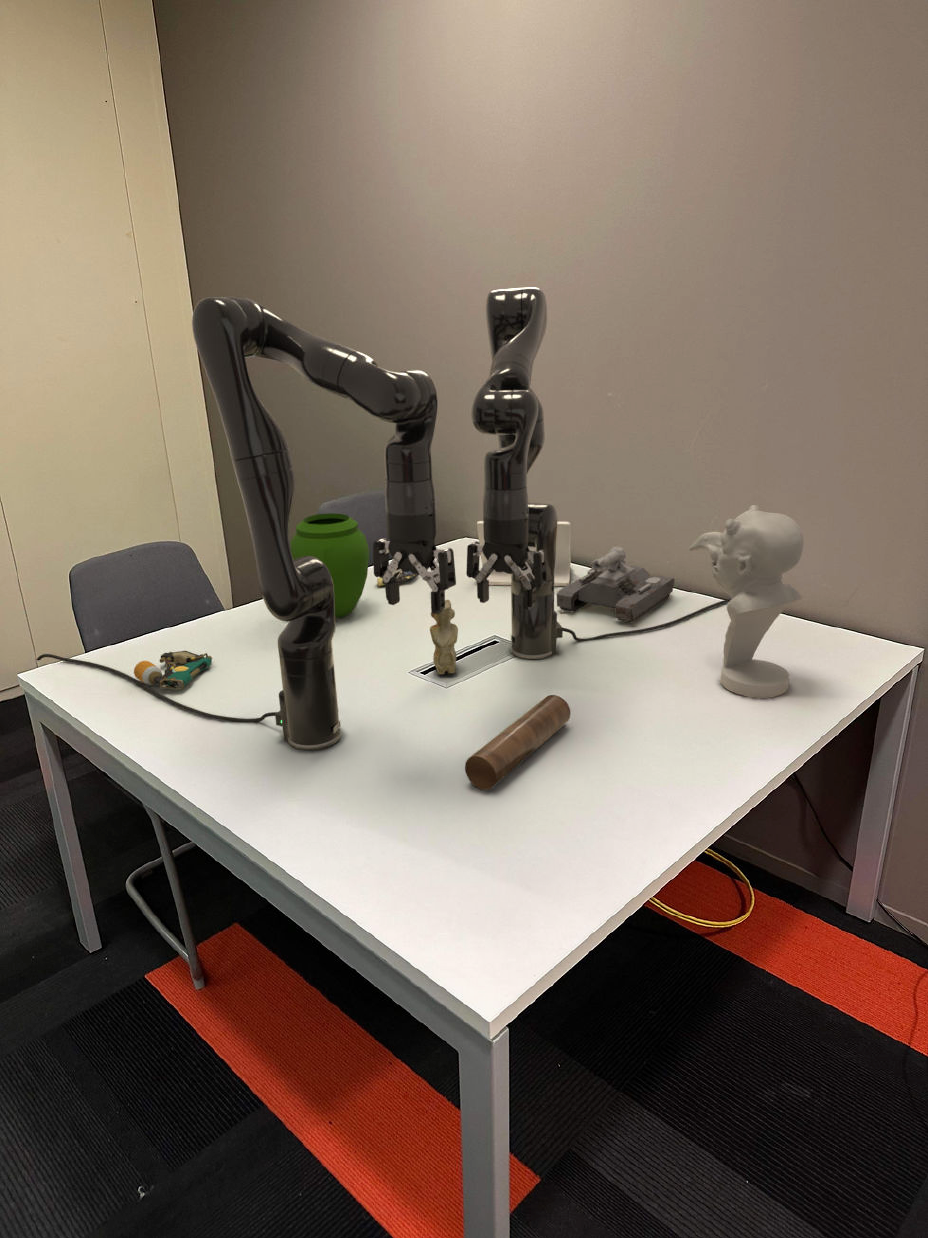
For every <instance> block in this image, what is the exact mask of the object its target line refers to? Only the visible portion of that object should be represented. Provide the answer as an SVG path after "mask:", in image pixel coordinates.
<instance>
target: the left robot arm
mask: <svg viewBox="0 0 928 1238" xmlns="http://www.w3.org/2000/svg"><path fill="white" fill-rule="evenodd" d="M192 312H193V313H192V319H191V328H192V334H193V340H194V343H195V346H196V349H197V352H198V354H199V357H200V360H201V363H202V366H203V368H204V371H205V374H206V377H207V380H208V382H209V384H210V387H211V390H212V393H213V395H214V400H215V402H216V406H217V409H218V413H219V417H220V420H221V423H222V426H223V430H224V433H225V437H226V440H227V444H228V448H229V454H230V459H231V461H232V467H233V470H234V474H235V478H236V482H237V485H238V487H239V491H240V495H241V499H242V502H243V506H244V511H245V515H246V519H247V524H248V528H249V532H250V536H251V541H252V547H253V552H254V553H253V554H254V560H255V567H256V572H257V573H256V575H257V579H258V585H259V590H260V594H261V597H262V600H263V602H264V605H265V607H266V609H267V610H268V612H269V613H270V614H271V615H272V617H274V618H275V619H276V620H279V621H281V622H284V623H285V622H287V624H286V626H285V627H284V628H283V630H282V631H281V632H280V634H279V635H278V637H277V652H278V659H279V668H280V677H281V686H282V689H281V690H280V691H279V692H278V701H279V711H271V712H266V713H264V714H262V715H261V716H260V717H255V718H242V717H241V718H240V717H231V716H225V715H218V714H213V713H208V712H205V711H201V710H198V709H196V708H193V707H190V706H188V705H184V704H182V703H180V702H178V701H175V700H173V699H171V698H169V697H168V696H165V695H163V694H161V693H160V692H159V691H158V690H157V691H156V690H155V689H153V688H152V687H150V686H149V685H147V684H145V683H143V682H142V681H140V680H139V679H137V678H134V677H132V676H131V675H128V674H126V673H124V672H122V671H120V670H118V669H114V668H112V667H109V666H106V665H103V664H99V663H95V662H91V661H86V660H81V659H74V658H68V657H63V656H59V655H55V654H51V653H43V654H41V655H39V656H38V657H37V658H36V661H41V660H43V658H51V659H55V660H57V661H61V662H67V663H73V664H74V663H75V664H80V665H85V666H89V667H94V668H98V669H102V670H105V671H107V672H108V671H109V672H111V673H114V674H116V675H119V676H120V677H123V678H125V679H127V680H129V681H131V682H133V683H135V684H136V685H138V686H139V687H141V688H143V689H145V690H146V691H148V692H150V693H151V694H153V695H154V696H156V697H157V698H160V699H161V700H164V701H165V702H168V703H170V704H171V705H173V706H175V707H177V708H179V709H183V710H185V711H188V712H191V713H193V714H196V715H199V716H202V717H206V718H210V719H214V720H219V721H221V720H222V721H228V722H234V723H260V722H263V721H264V720H265V719H266V718H268V717H274V718H275V725H276V726H278V727H282V736H283V737H282V738H283V741H284V742H287V743H288V744H289V745H290V746H291V747H293V748H295V749H297V750H301V751H302V750H303V751H317V750H322V749H325V748H329V747H331V746H333V745H335V744H336V743H337V742H338V741H340V739H341V737H342V736H341V735H342V732H341V728H340V727H341V725H342V724H341V720H340V717H339V704H338V693H337V692H338V691H337V684H336V683H337V682H336V671H335V661H334V660H335V659H334V649H333V638H334V635H335V632H336V619H335V599H334V587H333V581H332V578H331V575H330V572H329V570H328V568H327V567H326V565H325V564H324V563H323V562H322V561H321V560H319V559H318V558H316V557H312V556H304V557H300V558H297V559H294V560H293V557H292V553H291V548H290V542H291V541H290V522H291V515H292V510H293V505H294V501H295V495H296V487H297V483H296V482H297V479H296V478H297V477H296V471H295V468H294V463H293V460H292V454H291V451H290V446H289V443H288V440H287V438H286V435H285V433H284V431H283V430H282V427H280V425H279V423H278V422H277V420H276V419H275V418H274V417H273V415H272V413H271V412H270V411H269V410H268V408H267V407H266V406H265V405H264V403H263V402H262V400H261V399H260V398H259V396H258V394H257V392H256V390H255V387H254V385H253V383H252V379H251V377H250V373H249V369H248V366H247V361H246V359H249V358H252V357H253V358H260V359H265V360H266V359H267V360H271V361H274V362H278V363H281V364H283V365H286V366H288V367H290V368H291V369H293V370H295V371H296V372H297V373H298V374H299V375H300V376H302V377H303V379H305V380H306V381H307V382H309V383H311V384H312V385H313V386H315V387H318V388H320V389H321V390H324V391H327V392H328V393H331V394H334V395H336V396H338V397H341V398H343V399H346V400H349V401H351V402H353V403H354V404H355V405H357V406H358V407H359V408H360V409H362V410H364V411H365V412H367V413H368V414H369V415H371V416H373V417H375V418H376V419H378V420H381V421H384V422H387V423H391V424H395V425H394V434H393V435H392V437H390V439H389V440H387V442H386V443H385V445H384V448H383V449H384V450H383V461H384V474H385V475H384V478H385V483H384V484H385V486H384V503H385V504H384V505H385V519H386V520H385V521H386V536H387V537H383V538H380V539H377V540H374V541H373V543H372V554H373V555H372V557H373V558H372V559H373V575H374V577H376V578H379V577H380V578H382V579H383V581H384V582H385V585H384V588H385V598H386V601H387V603H388V605H391V606H394V605H397V604H398V603H400V600H401V594H400V581H399V580H396V579H397V578H398V576H399V575H400V573H401V572H411V573H414V574H416V575H419V576H420V577H421V579H422V580H423V581H425V582H426V583H427V584H428V586H429V589H430V590H431V591H430V609H431V612H432V614H439V613H440V612H442V611H443V609H444V608H445V600H446V590H449V589H450V588H452V587H455V586H456V585H457V576H456V567H455V566H456V565H455V554H454V549H453V548H451V547H448V548H446V549H439V548H437V546H436V543H435V542H436V541H435V540H436V536H437V519H436V518H437V517H436V494H435V486H434V481H433V463H432V462H433V461H432V460H433V459H432V443H433V440H434V434H435V429H436V422H437V415H438V404H439V403H438V393H437V389H436V385H435V383H434V380H433V379H432V378H431V376H430V375H428V373H426V372H425V371H423V370H421V369H415V368H414V369H405V370H401V371H400V370H399V371H391V370H387V369H385V368H382V367H379V365H378V364H377V361H376V360H375V359H373V358H372V357H371V356H369V355H368V354H366V353H364V352H361V351H357V350H355V349H353V348H351V347H348V346H345V345H343V344H340V343H337V342H335V341H333V340H330V339H327V338H325V337H322V336H319V335H316V334H314V333H312V332H311V331H308V330H305V329H303V328H302V327H299V326H297V325H295V324H294V323H292V322H290V321H288V320H287V319H285V318H283V317H281V316H280V315H278V314H277V313H275V312H274V311H272V310H271V309H269V308H267V307H266V306H265V305H262V304H261V303H259V302H257V301H256V300H254V299H251V298H249V297H246V296H207V297H204V298H202V299H201V300H199V301H198V303H197V304H196V305H195V307H194V309H193V311H192ZM390 555H391V557H392V560H391V561H390ZM429 569H430V571H428V570H429ZM431 612H430V613H431Z"/></svg>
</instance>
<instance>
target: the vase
mask: <svg viewBox="0 0 928 1238" xmlns="http://www.w3.org/2000/svg"><path fill="white" fill-rule="evenodd" d="M358 524H359V523H358V521H356V520H355V519H353V518H352V517H350V516H349V515H347V514H344V513H335V512H334V513H333V512H331V513H320V514H313V515H310V516H307V517H305V518H303V519H302V520H301V521H300V522H299V523H298V524H297V525H296V526H295V532H296V533H295V534H294V536H293V537H292V538H291V540H290V541H289V542H290V548H291V553H292V557H293V560H294V559H297V558H300V557H304V556H312V557H316V558H318V559H319V560H321V561H322V562H323V563H324V564H325V565H326V567H327V568H328V570H329V572H330V575H331V578H332V581H333V587H334V599H335V620H336V619H341V618H345V617H347V616H349V615H350V614H351V613H352V612H353V611H354V610H355V608H356V607H357V605H358V604H359V601H360V599H361V597H362V595H363V592H364V588H365V586H366V581H367V578H368V570H369V561H370V560H369V559H370V548H369V545H368V541H367V537H366V535H365V534H364V533H363V532H362V531H361V530H360V529H359V527H358Z"/></svg>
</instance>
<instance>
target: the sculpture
mask: <svg viewBox="0 0 928 1238" xmlns="http://www.w3.org/2000/svg"><path fill="white" fill-rule="evenodd" d="M455 615H456V611H455V609H453V608H452V602H451V601H450V599H445V608H444V609H443V611H442V612H440V613H439V614H432V612H430V617H431V618H432V619H433V620H434V621H435V622H436V623H435V624H433V625H431V626H429V633H430V636H431V640H432V641H431V642H432V643H433V645H434V648H435V649H434V652H433V656H432V657H433V659H432V660H433V665H434V667H435V668H436V671H437V674H438V675H445V674H446V672H447V673H448V674H455V673H456V666H457V665H456V663H457V652H456V649H455V644H456V643H457V642H458V637H459V635H458V634H459V627H458V626H457V624H455V623H453V622H451V621H452V620H453V619H454V618H455Z"/></svg>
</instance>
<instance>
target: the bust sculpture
mask: <svg viewBox="0 0 928 1238" xmlns="http://www.w3.org/2000/svg"><path fill="white" fill-rule="evenodd" d="M724 526H725V527H724V528H725V529H724V531H723V532H719V531H708V532H705V533H703V534H701V535H699V537H698V538H696V540H695V541H694V542H693V543H692V544H691V545H690V546H689V548H688V550H689V551H690V552H694V551H699V550H702V549H703V550H708V555H709V557H710V559H711V560H712V563H710V570H711V572H712V575H713V578H714V579H715V581H716V583H717V585H718V586H719V587H720V589H722V591H724V592H726V593H727V595H728V596H730V597H731V598H730V599H731V600H730V601H729V602H727V605H726V612H727V614H728V617H729V620H730V621H729V625H728V626H727V630H726V632H725V635H724V637H725V638H724V643H723V663H722V664H723V665H722V666H721V669H720V684H721V685H722V687H724V688H725V689H726V690H727V691H730V692H731V693H734V694H737V695H740V696H745V697H750V698H765V699H766V698H773V697H774V698H775V697H778V696H781V695H783V694H785V693H786V692H787V691H788V688H789V681H790V674H789V671H788V670H787V669H786V668H784V667H783V666H781V665H779V664H777V663H774V662H771V661H768V660H762V659H755V658H754V656H755V653H756V651H757V649H758V647H759V646H760V643H761V642H762V640H763V638H764V637H765V635H766V634H767V632H768V631H769V629H770V628H771V626H773V623H774V622H775V621H776V619H777V618H778V617H779V616H780V615H781V614H782V613H783V612H785V610H786V609H787V608H788V607H790V606H791V605H793V604H794V603H795V602H796V601H799V600H801V599H803V597H802V595H801V594H800V592H799V590H798V589H797V588H796V587H795V586H794V585H792V584H790V583H784V582H783V581H782V580H783V574H786V573H787V572H789V571H791V570H792V569H793V568H794V567H796V565H797V564H798V563H799V562H800V560H801V558H802V555H803V550H804V535H803V531H802V529H801V527H800V526H799V524H798V523H797V522H796V521H795V520H794V519H792V517H790V516H788V515H787V514H784V513H777V512H766V511H762V510H761V509H760V508H759V506H758V505H757V504H755V505H750V507H749V508H748V510H746V511H744V512H743V513H740V515H738V516H737V517H735V519H733V518H729V519H727V520H726V521H725V524H724Z"/></svg>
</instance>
